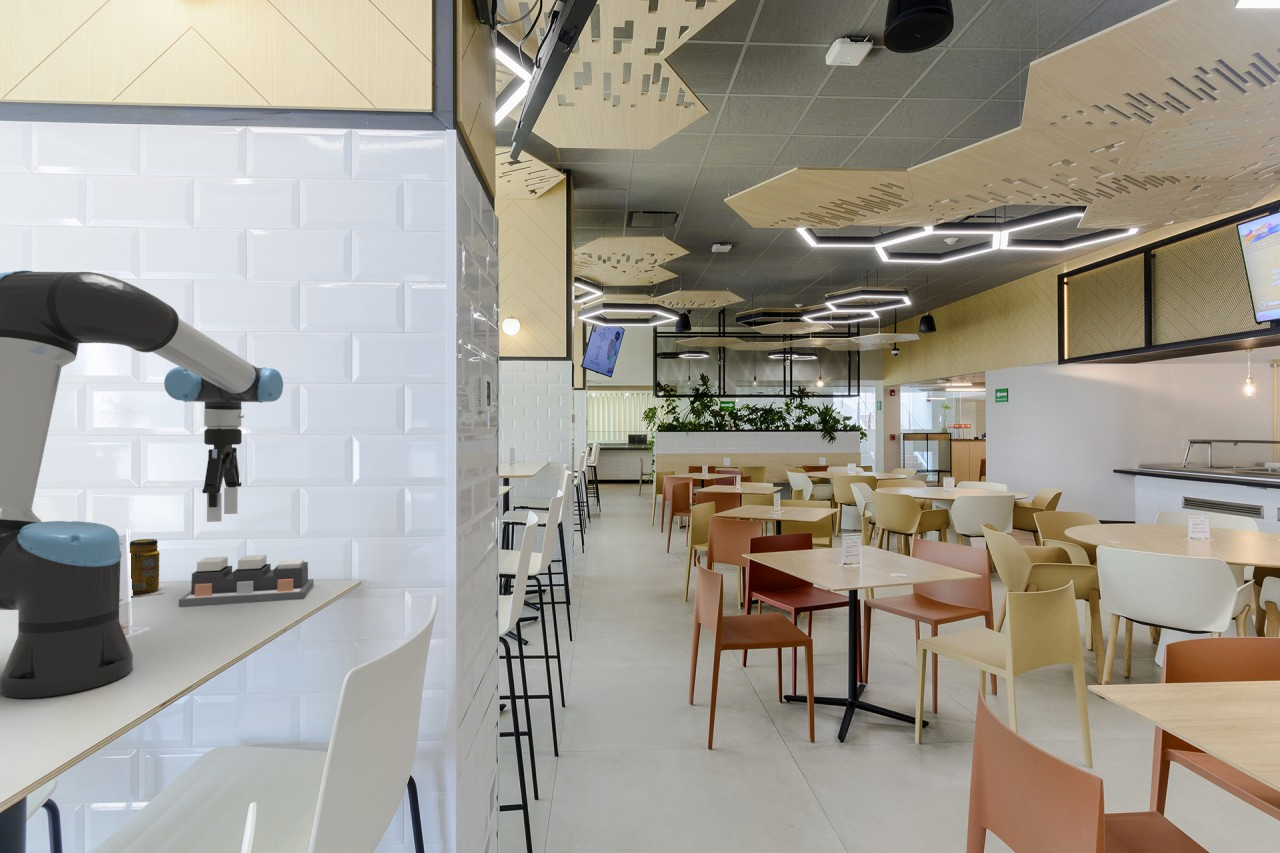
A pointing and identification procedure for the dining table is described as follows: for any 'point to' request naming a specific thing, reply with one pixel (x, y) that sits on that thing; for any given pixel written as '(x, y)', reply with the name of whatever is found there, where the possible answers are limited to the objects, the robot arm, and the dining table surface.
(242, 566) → the button mid
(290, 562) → the button right
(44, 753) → the dining table surface
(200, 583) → the switch unit
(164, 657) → the dining table surface
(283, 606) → the dining table surface
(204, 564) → the button left
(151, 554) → the condiment
